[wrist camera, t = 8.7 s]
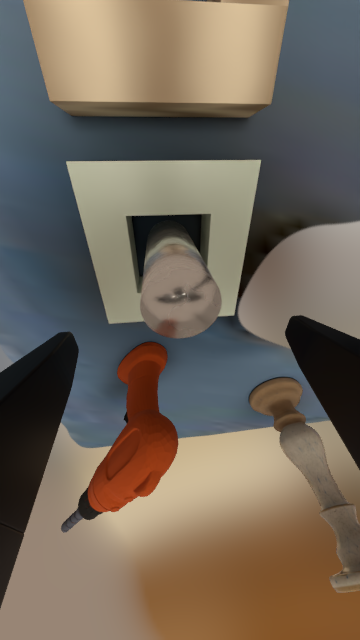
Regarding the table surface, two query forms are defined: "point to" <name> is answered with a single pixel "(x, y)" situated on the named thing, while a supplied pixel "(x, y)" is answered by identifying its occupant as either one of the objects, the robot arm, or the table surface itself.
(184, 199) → the square block with hole
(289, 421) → the candle holder
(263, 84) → the socket block
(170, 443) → the toy drill
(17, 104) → the table surface
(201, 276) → the silver flared cylinder
